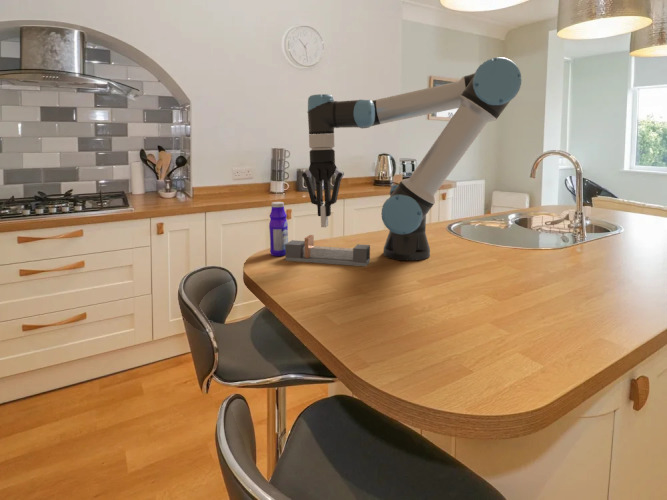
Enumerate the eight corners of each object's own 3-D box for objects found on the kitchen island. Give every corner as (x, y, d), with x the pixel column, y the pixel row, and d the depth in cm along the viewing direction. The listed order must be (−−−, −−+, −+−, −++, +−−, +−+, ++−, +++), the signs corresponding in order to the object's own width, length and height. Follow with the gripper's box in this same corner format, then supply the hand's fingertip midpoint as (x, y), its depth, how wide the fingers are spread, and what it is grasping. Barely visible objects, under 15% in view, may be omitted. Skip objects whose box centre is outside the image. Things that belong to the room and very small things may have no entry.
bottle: (284, 257, 153) (282, 204, 149) (267, 256, 155) (265, 203, 150) (290, 252, 160) (289, 201, 156) (274, 251, 162) (273, 200, 157)
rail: (369, 261, 148) (370, 245, 147) (365, 266, 143) (365, 249, 141) (292, 255, 155) (292, 240, 154) (285, 260, 150) (285, 244, 148)
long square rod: (364, 257, 148) (365, 238, 146) (361, 261, 143) (361, 241, 142) (301, 253, 154) (301, 234, 152) (296, 257, 149) (295, 237, 147)
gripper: (346, 148, 143) (348, 224, 148) (305, 149, 146) (308, 223, 152) (339, 148, 136) (341, 229, 141) (297, 149, 139) (300, 228, 145)
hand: (324, 226), depth 146 cm, fingers closed
